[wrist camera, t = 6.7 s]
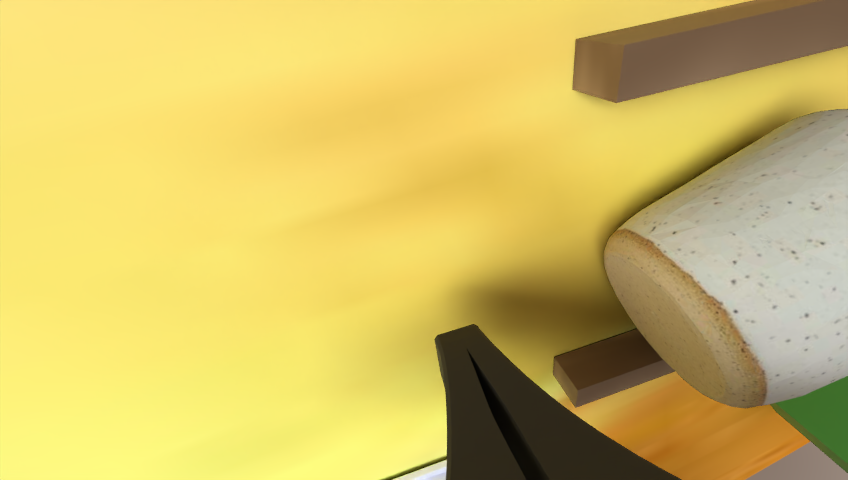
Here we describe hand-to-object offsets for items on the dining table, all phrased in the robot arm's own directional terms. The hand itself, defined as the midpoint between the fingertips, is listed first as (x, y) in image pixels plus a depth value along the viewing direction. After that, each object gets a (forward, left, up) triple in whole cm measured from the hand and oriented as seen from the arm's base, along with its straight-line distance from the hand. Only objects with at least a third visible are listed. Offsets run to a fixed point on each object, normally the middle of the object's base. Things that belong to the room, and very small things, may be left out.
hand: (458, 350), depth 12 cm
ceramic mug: (-1, -12, -3) cm, 12 cm away
